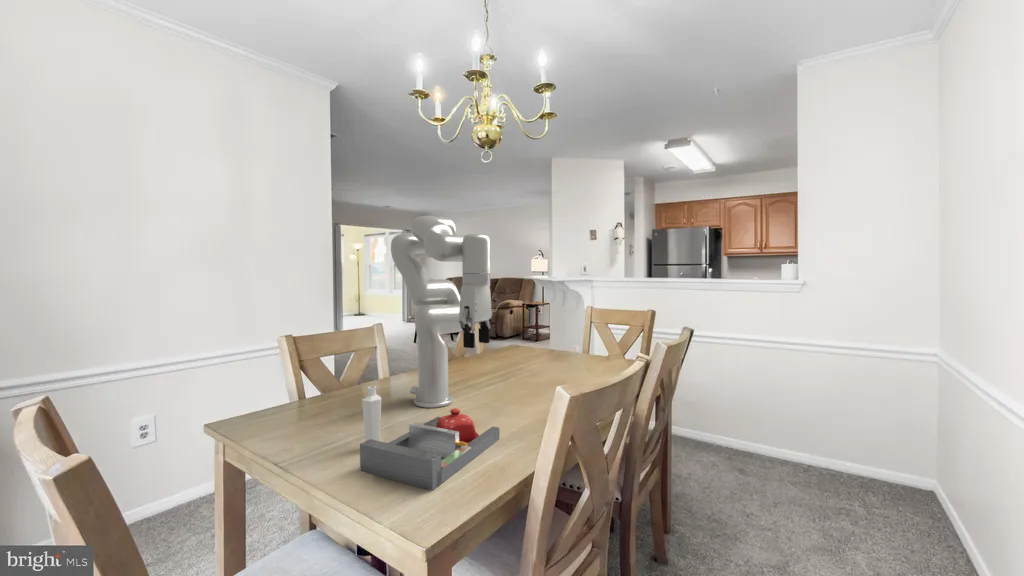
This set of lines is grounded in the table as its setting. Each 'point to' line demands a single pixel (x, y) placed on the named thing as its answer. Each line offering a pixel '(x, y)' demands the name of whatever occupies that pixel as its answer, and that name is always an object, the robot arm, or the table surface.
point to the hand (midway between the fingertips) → (476, 344)
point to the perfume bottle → (372, 414)
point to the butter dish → (458, 425)
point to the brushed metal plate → (434, 439)
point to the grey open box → (420, 459)
